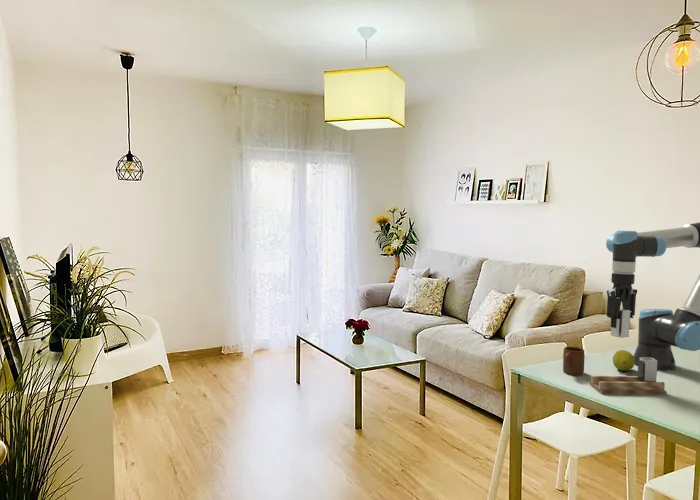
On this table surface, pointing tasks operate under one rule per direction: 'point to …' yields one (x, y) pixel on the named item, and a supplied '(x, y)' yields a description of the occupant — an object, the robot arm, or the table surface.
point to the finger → (647, 369)
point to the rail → (626, 385)
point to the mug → (573, 360)
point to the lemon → (623, 360)
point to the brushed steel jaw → (624, 322)
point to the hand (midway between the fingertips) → (619, 335)
